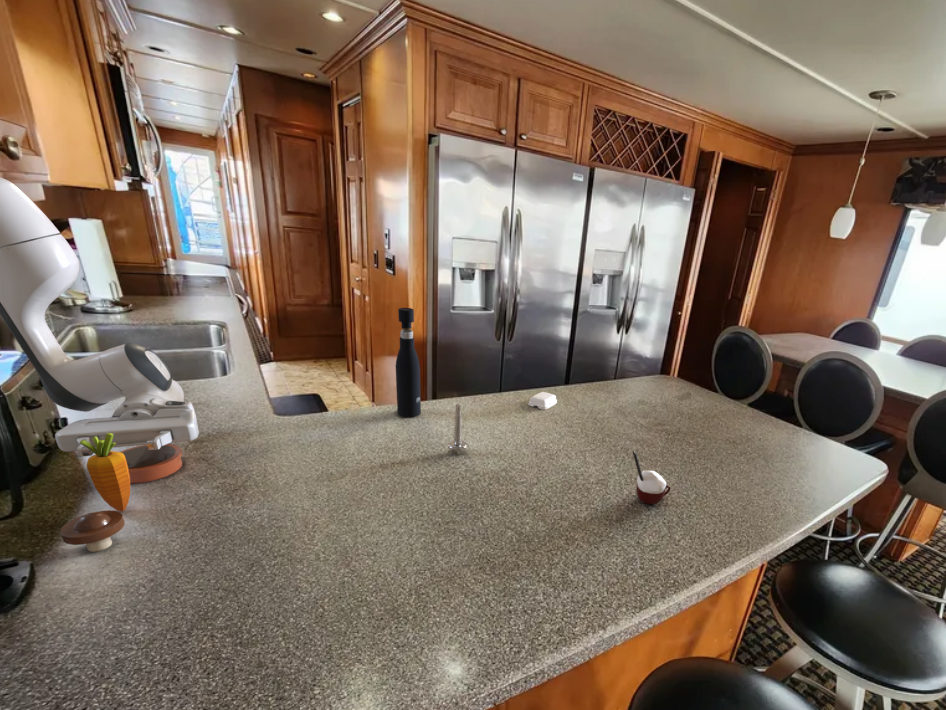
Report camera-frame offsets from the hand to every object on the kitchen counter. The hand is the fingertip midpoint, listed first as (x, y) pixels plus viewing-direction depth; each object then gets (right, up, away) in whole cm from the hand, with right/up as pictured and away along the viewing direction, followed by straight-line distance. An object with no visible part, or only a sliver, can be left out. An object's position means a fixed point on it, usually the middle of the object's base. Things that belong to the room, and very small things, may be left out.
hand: (118, 449), depth 82 cm
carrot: (+2, -11, -1) cm, 11 cm away
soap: (+74, +10, +68) cm, 101 cm away
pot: (-5, -5, +12) cm, 14 cm away
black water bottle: (+36, +7, +50) cm, 62 cm away
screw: (+54, -3, +31) cm, 63 cm away
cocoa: (+99, -13, +19) cm, 101 cm away
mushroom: (+6, -15, -9) cm, 18 cm away
